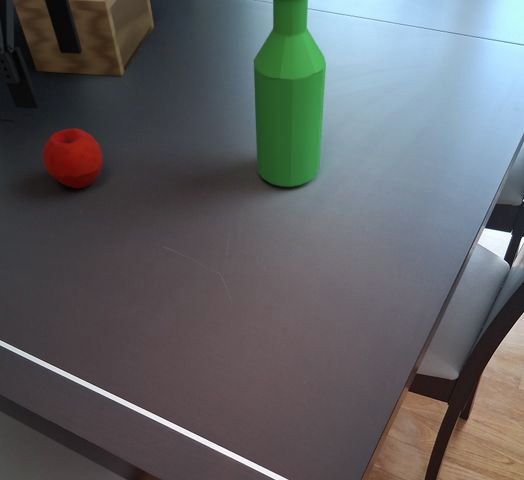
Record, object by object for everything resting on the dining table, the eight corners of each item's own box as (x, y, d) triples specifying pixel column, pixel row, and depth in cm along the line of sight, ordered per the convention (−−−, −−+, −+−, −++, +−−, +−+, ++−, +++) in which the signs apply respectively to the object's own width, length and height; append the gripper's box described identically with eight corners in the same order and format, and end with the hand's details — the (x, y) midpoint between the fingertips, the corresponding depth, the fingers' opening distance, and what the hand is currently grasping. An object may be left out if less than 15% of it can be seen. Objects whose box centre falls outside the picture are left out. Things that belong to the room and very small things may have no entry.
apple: (73, 160, 84) (57, 113, 78) (119, 170, 82) (107, 123, 77) (41, 191, 80) (22, 144, 74) (90, 203, 78) (74, 155, 72)
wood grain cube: (36, 71, 102) (11, -3, 92) (77, 22, 114) (59, -47, 104) (121, 76, 100) (105, 1, 90) (154, 26, 112) (142, -44, 102)
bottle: (253, 189, 79) (244, -12, 59) (261, 153, 84) (255, -42, 64) (317, 192, 78) (329, -10, 58) (320, 156, 83) (333, -41, 64)
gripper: (-54, -109, 45) (38, 135, 62) (65, -178, 60) (113, 33, 77) (-138, -110, 46) (-25, 131, 63) (-1, -177, 61) (61, 31, 78)
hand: (51, 78), depth 70 cm, fingers open, 13 cm apart
